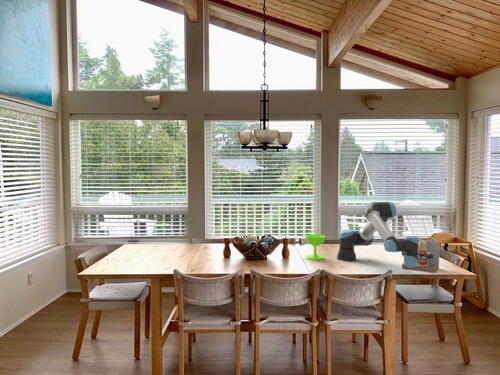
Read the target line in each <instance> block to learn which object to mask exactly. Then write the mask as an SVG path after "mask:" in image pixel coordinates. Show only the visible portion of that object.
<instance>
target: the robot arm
mask: <svg viewBox="0 0 500 375" xmlns="http://www.w3.org/2000/svg"><path fill="white" fill-rule="evenodd" d="M364 216H365V219H366V220H367V223H366V224H365V226H363V227H361V228H360V229H359V230H358V231H356V230H354V229H343V230H341V231H340V232H339V236H338V237H339V242H338V243H339V244H338V246H339V249H338V252H337V255H336V259H338V260H339V261H345V262H347V261H349V262H350V261H351V262H352V261H353V262H354V261H356V260H357V255H356V252H355V247H356V246H357V247H359V246H363V247H364V246H365V247H367V246H371V245H372V244H373V243H374V239H375V237H374V234H375V233H376V232H377V233H378V235H379V236H380V238H381V239H382V240H383V242H384V243H383V247H384V250H385V251H386V252H388V253H397V252H398V253H400V252H401V256H402V257H403V258H404V257H405V264H406V266H408V267H410V268H413V267H415V266H416V265H417V264H418V263H419V261H420V260H421V259H423V258H424V260H427V259H431V258H433V254H430V252H428V253H427V254H419V253H418V246H419V241H418V238H419V237H418V238H417V236H415V235H414V236H413V235H411V236H410V235H408V236H406V237H405V238H406V240H404V239H397V237H396V236H395V235H394V233H393V232H392V231H391V229H390V228H389V227H388V225H387V221H389V219H394V218H395V217H396V216H397V207H396V205H395V203H393V202H392V201H372V202H369V203H368V204H367V205H366V206H365V207H364Z"/></svg>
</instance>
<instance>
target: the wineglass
mask: <svg viewBox="0 0 500 375" xmlns="http://www.w3.org/2000/svg"><path fill="white" fill-rule="evenodd" d="M305 240H306V242H307V243H308V244H309V245H310V246H312V247H313V254H308V255H306V256H305V257H304V259H306V260H311V261H324V260H325V257H324V256H322V255H319V254H317V247H319V246H321V245H322V244H323V243H324V242H325V240H326V236H325V235H321V234H307V235H305Z"/></svg>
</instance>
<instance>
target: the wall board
mask: <svg viewBox="0 0 500 375" xmlns="http://www.w3.org/2000/svg"><path fill="white" fill-rule="evenodd" d="M403 240H406V237H405V238H404V239H403ZM424 240H425V242H426V245H427V253H428V252H430V254H433V258H431V259H428V266H417V265H416V266H415V267H413V268H410V267H408V266H406V264H405V257H404V256H403V263H402V264H401V269H402V268H404V270H410V269H411V271H418V270H420V271H419V272H426V271H427V273H436V272H437V271H438V270H439V269H440V247H441V243H440V240H439V241H438V240H437V241H436V240H429V239H424Z"/></svg>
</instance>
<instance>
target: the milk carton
mask: <svg viewBox="0 0 500 375" xmlns="http://www.w3.org/2000/svg"><path fill="white" fill-rule="evenodd" d="M416 237H417V236H416ZM417 238H418V241H419V246H418V253H419V254H427V245H426V242H425V240H426V239H422V238H419V237H417ZM417 266H428V259H427V260H424V258H423V259H421V260H420V261H419V263H418V264H417Z"/></svg>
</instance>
